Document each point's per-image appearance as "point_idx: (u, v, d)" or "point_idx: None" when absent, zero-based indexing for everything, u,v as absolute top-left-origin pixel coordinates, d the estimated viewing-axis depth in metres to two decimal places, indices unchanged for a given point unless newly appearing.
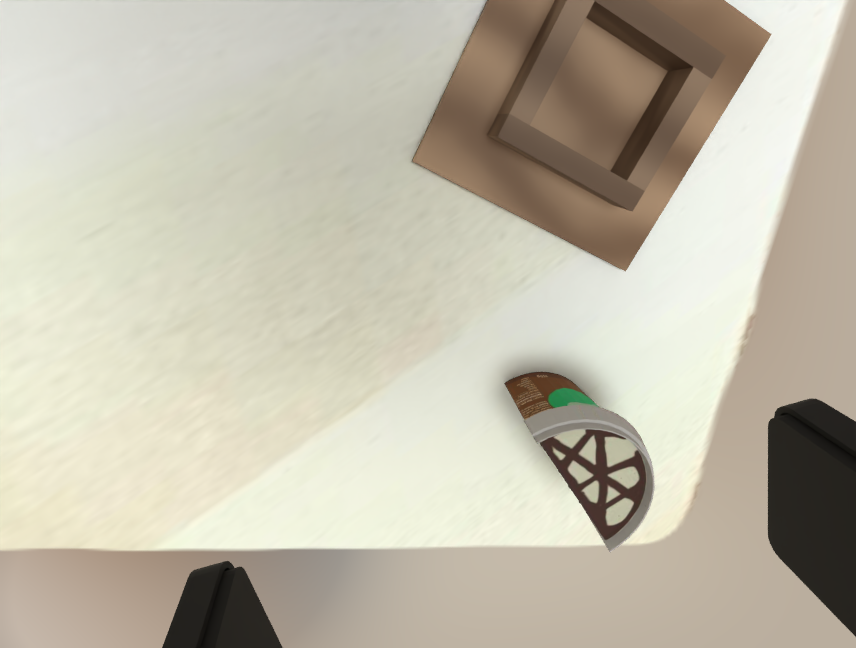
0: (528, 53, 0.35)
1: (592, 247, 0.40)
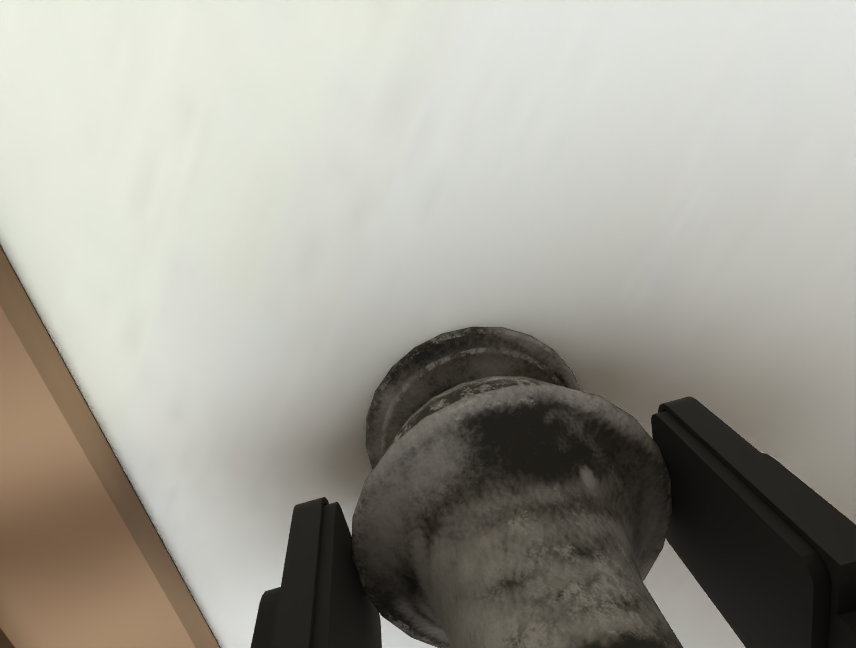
0: None
1: None
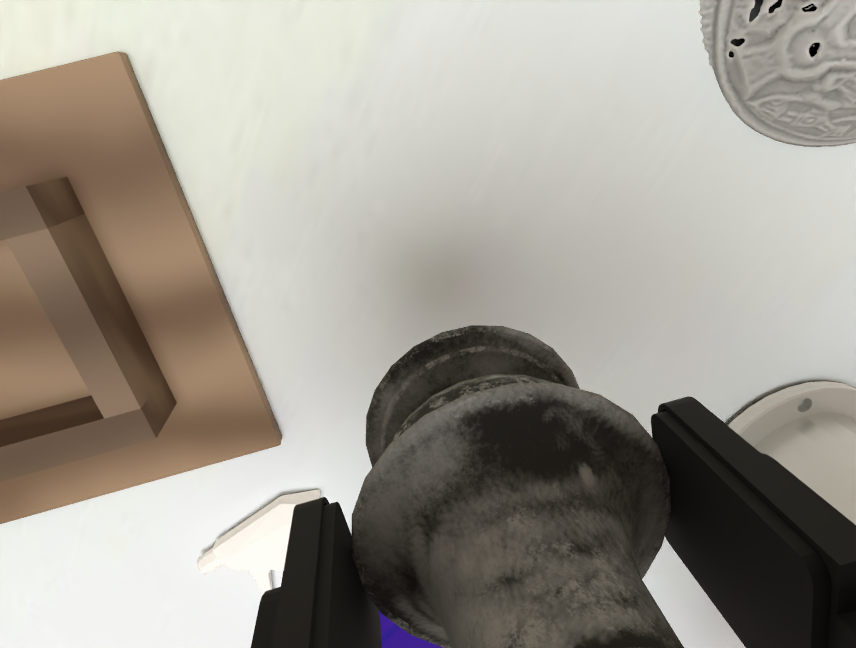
0: (128, 306, 0.23)
1: None
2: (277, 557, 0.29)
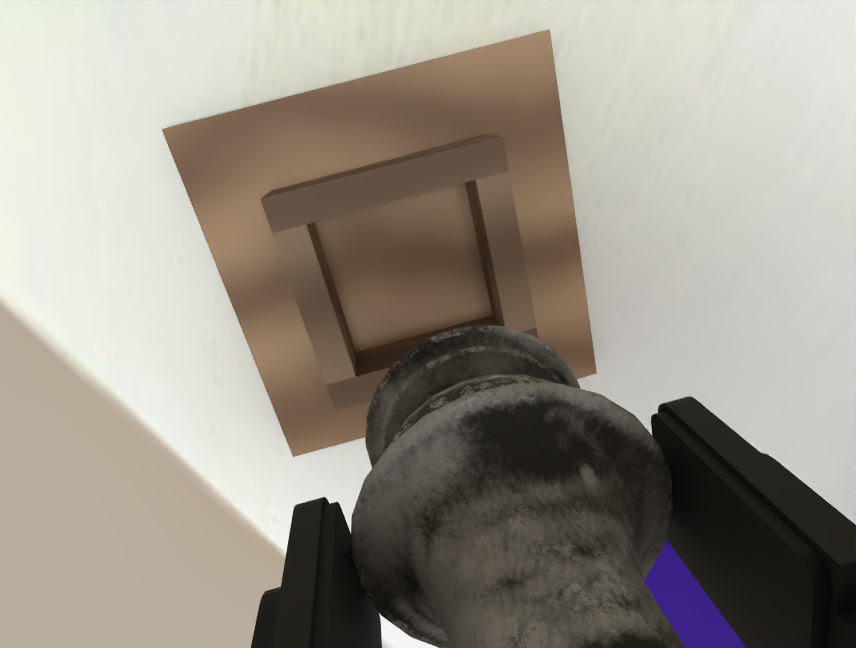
0: None
1: (239, 120, 0.24)
2: None
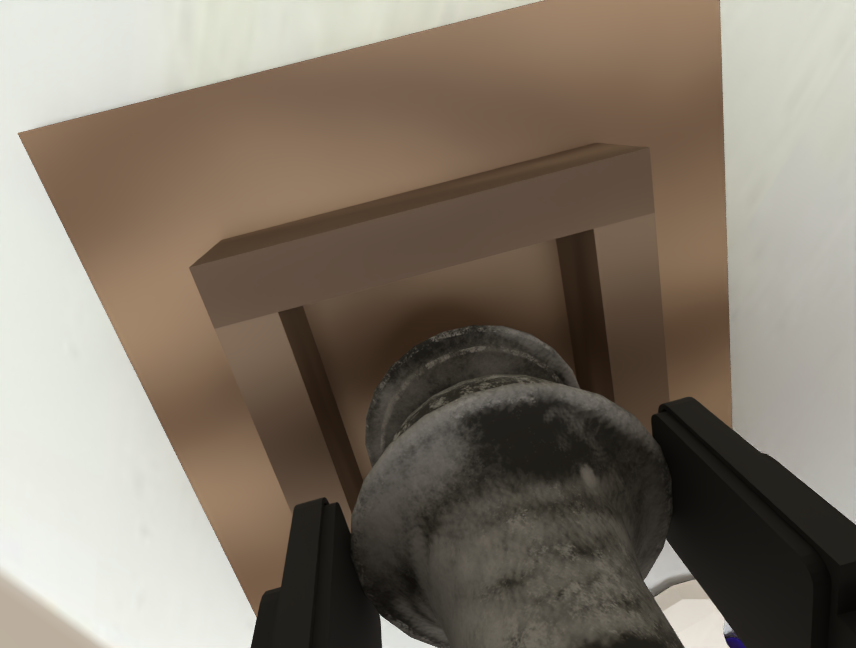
0: None
1: (160, 117, 0.13)
2: None
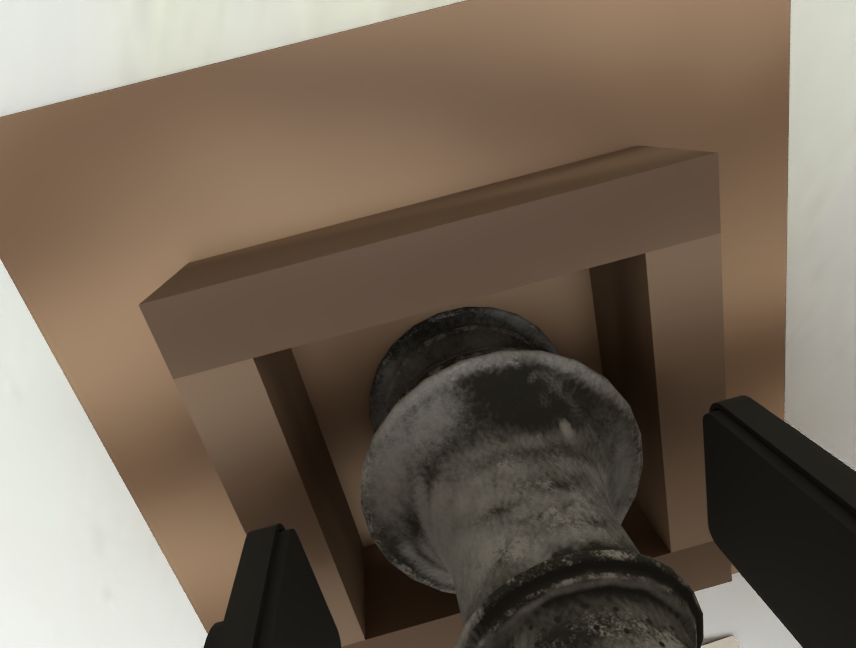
0: None
1: (109, 114, 0.11)
2: None
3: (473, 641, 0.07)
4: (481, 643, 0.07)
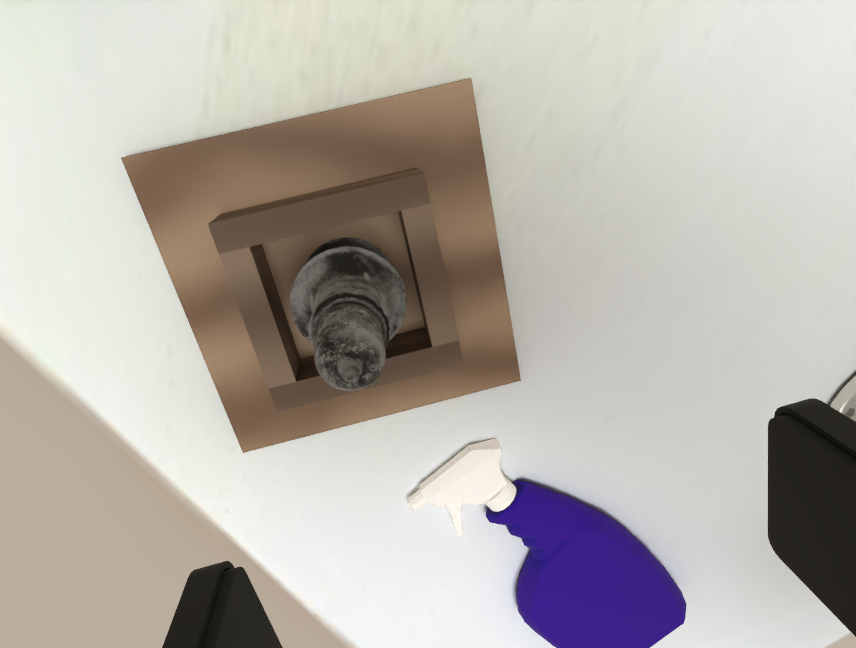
0: None
1: (191, 151, 0.27)
2: (470, 493, 0.37)
3: (313, 319, 0.23)
4: (315, 318, 0.23)
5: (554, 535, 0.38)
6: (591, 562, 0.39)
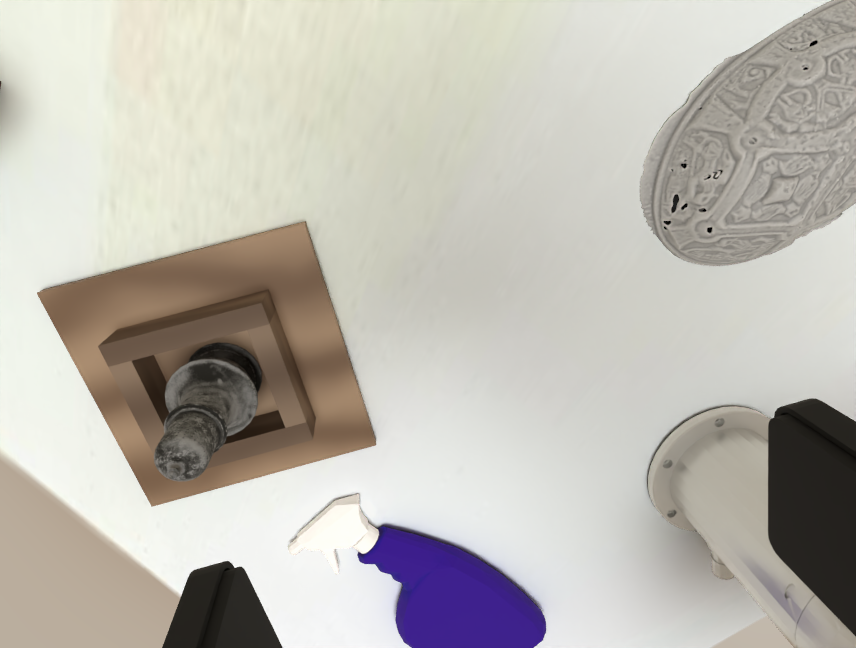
0: (294, 361, 0.39)
1: (90, 285, 0.36)
2: (337, 540, 0.45)
3: (166, 423, 0.32)
4: (167, 423, 0.32)
5: (414, 571, 0.46)
6: (450, 592, 0.47)
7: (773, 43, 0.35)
